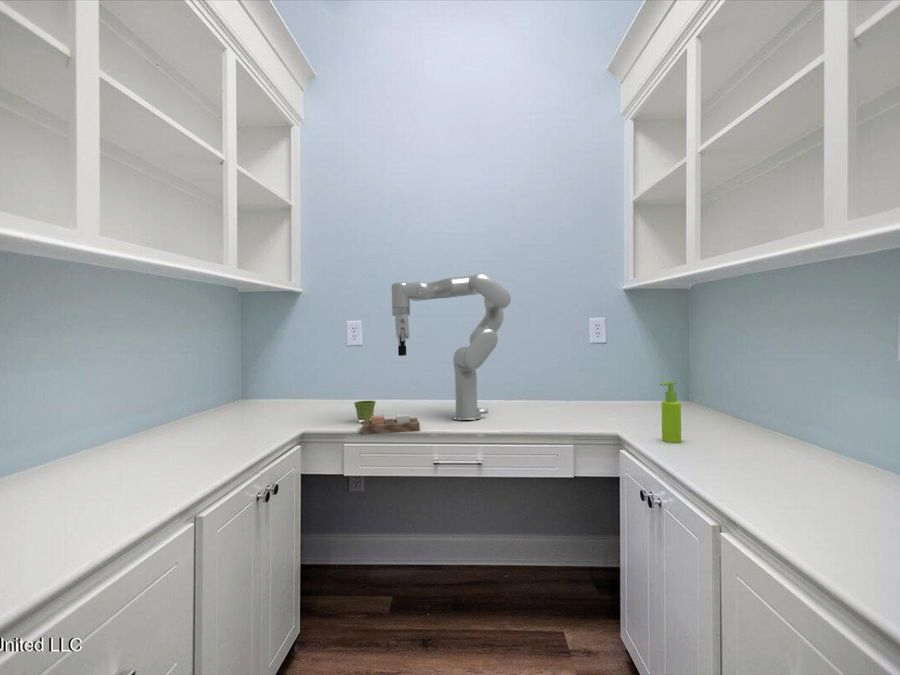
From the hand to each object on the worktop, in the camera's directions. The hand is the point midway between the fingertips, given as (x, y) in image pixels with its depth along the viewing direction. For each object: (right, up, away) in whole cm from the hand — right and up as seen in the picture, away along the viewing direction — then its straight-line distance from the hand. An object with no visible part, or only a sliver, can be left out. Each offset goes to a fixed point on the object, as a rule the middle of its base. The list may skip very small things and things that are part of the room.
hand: (402, 355), depth 193 cm
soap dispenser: (+95, -28, -38) cm, 106 cm away
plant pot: (-17, -30, +6) cm, 34 cm away
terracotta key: (-9, -28, -11) cm, 31 cm away
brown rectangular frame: (-4, -29, -10) cm, 31 cm away
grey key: (+1, -28, -9) cm, 29 cm away
